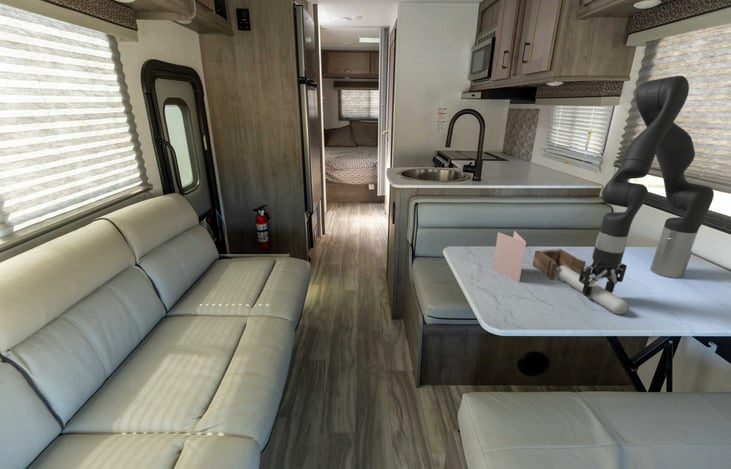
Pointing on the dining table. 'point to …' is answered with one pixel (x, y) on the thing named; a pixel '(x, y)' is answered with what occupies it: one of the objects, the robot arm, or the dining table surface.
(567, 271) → the tube
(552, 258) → the socket block
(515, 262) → the greeting card
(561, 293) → the dining table surface
